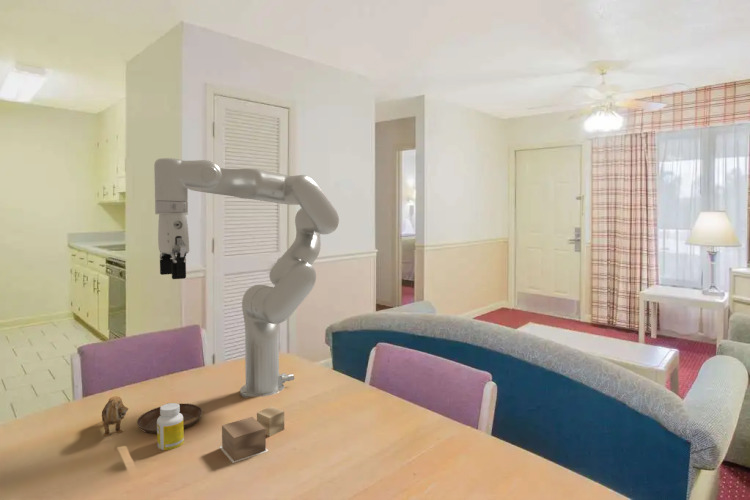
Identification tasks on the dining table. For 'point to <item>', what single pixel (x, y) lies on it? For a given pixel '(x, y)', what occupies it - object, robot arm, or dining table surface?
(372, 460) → the dining table surface
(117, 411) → the lion figurine
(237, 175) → the robot arm
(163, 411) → the supplement bottle
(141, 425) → the saucer
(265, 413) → the oak cube
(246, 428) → the walnut block
